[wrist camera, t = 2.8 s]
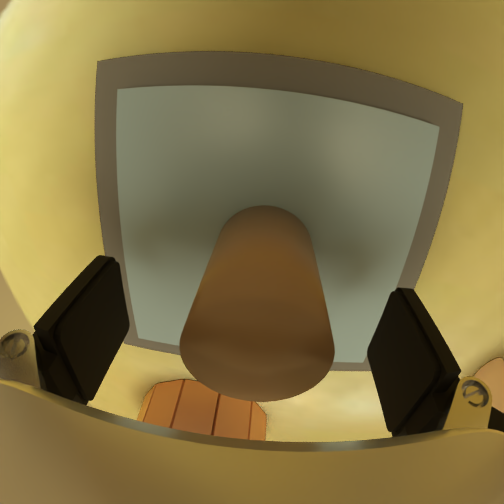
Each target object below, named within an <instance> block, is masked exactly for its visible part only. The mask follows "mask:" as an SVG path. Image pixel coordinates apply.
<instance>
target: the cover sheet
mask: <svg viewBox="0 0 504 504" xmlns="http://www.w3.org/2000/svg"><path fill="white" fill-rule="evenodd" d="M439 128H440V127H439V126H436V125H433V124H430V123H427V122H424V121H421V120H417V119H414V118H411V117H408V116H404V115H401V114H397V113H394V112H390V111H386V110H383V109H379V108H375V107H371V106H366V105H362V104H358V103H353V102H348V101H343V100H338V99H333V98H328V97H322V96H316V95H310V94H303V93H296V92H288V91H280V90H271V89H260V88H248V87H232V86H200V85H184V86H153V87H137V88H126V89H117V113H116V158H117V183H118V199H119V212H120V224H121V233H122V242H123V251H124V259H125V266H126V273H127V279H128V286H129V292H130V298H131V303H132V309H133V314H134V319H135V324H136V329H137V334H138V338H141V339H146V340H151V341H156V342H161V343H167V344H172V345H178V346H179V349H180V354H181V358H182V360H183V363H184V364H185V366H186V368H187V369H188V371H189V372H190V373H191V374H192V375H193V376H194V377H195V378H196V379H197V380H198V381H199V382H201V383H202V384H203V385H205V386H206V387H208V388H209V389H211V390H213V391H215V392H217V393H220V394H222V395H225V396H228V397H231V398H235V399H239V400H245V401H256V402H268V401H277V400H283V399H287V398H291V397H294V396H297V395H299V394H301V393H304V392H306V391H308V390H309V389H311V388H312V387H314V386H315V385H317V384H318V383H319V382H320V381H321V380H322V379H323V378H324V377H325V376H326V375H327V373H328V372H329V370H330V368H331V366H332V364H333V362H359V363H363V362H364V360H365V358H366V356H367V349H368V346H369V344H370V342H371V339H372V337H373V335H374V332H375V330H376V328H377V325H378V323H379V321H380V318H381V316H382V313H383V311H384V308H385V306H386V303H387V301H388V298H389V295H390V293H391V292H392V291H395V289H396V287H397V284H398V281H399V279H400V276H401V273H402V270H403V268H404V265H405V262H406V259H407V256H408V253H409V250H410V247H411V244H412V241H413V238H414V234H415V231H416V228H417V224H418V221H419V218H420V214H421V210H422V207H423V203H424V199H425V195H426V191H427V187H428V183H429V179H430V175H431V170H432V165H433V161H434V156H435V151H436V145H437V140H438V134H439Z"/></svg>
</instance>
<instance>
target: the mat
mask: <svg viewBox="0 0 504 504" xmlns="http://www.w3.org/2000/svg"><path fill="white" fill-rule="evenodd" d="M184 85H200V86H232V87H248V88H260V89H271V90H280V91H288V92H296V93H303V94H310V95H316V96H322V97H328V98H333V99H338V100H343V101H348V102H353V103H358V104H362V105H366V106H371V107H375V108H379V109H383V110H386V111H390V112H394V113H397V114H401V115H404V116H408V117H411V118H414V119H417V120H421V121H424V122H427V123H430V124H433V125H436V126H439V127H440V128H439V134H438V140H437V145H436V151H435V156H434V161H433V165H432V170H431V175H430V179H429V183H428V187H427V191H426V195H425V199H424V203H423V207H422V210H421V214H420V218H419V221H418V224H417V228H416V231H415V234H414V238H413V241H412V244H411V247H410V250H409V253H408V256H407V259H406V262H405V265H404V268H403V270H402V273H401V276H400V279H399V281H398V284H397V287H396V288H398V287H400V288H411V289H413V290H414V288H415V286H416V283H417V281H418V278H419V276H420V273H421V271H422V268H423V265H424V263H425V260H426V257H427V254H428V251H429V249H430V246H431V243H432V240H433V237H434V234H435V231H436V227H437V224H438V221H439V218H440V214H441V211H442V207H443V204H444V200H445V196H446V192H447V188H448V184H449V180H450V176H451V172H452V167H453V163H454V158H455V153H456V148H457V142H458V136H459V130H460V124H461V117H462V109H463V104H462V103H460V102H458V101H455V100H453V99H451V98H448V97H446V96H443V95H441V94H438V93H436V92H433V91H430V90H428V89H425V88H422V87H419V86H416V85H413V84H410V83H407V82H404V81H401V80H398V79H395V78H391V77H388V76H384V75H381V74H377V73H373V72H370V71H366V70H362V69H357V68H353V67H349V66H344V65H339V64H334V63H329V62H324V61H318V60H312V59H305V58H298V57H291V56H283V55H273V54H262V53H248V52H225V51H193V52H170V53H156V54H145V55H136V56H128V57H121V58H114V59H108V60H102V61H98V62H97V75H96V91H95V161H96V179H97V192H98V203H99V213H100V222H101V230H102V237H103V244H104V251H105V256H109V257H114V258H115V260H116V262H119V264H120V269H121V276H122V283H123V289H124V295H125V300H126V306H127V311H128V316H129V321H130V327H129V331H128V333H127V335H126V337H125V338H124V340H123V341H124V344H128V345H132V346H137V347H141V348H146V349H151V350H156V351H161V352H166V353H172V354H177V355H181V354H180V349H179V346H178V345H172V344H167V343H161V342H156V341H151V340H146V339H141V338H138V334H137V329H136V324H135V319H134V314H133V309H132V303H131V298H130V292H129V286H128V279H127V273H126V266H125V259H124V251H123V242H122V233H121V224H120V212H119V199H118V183H117V158H116V113H117V89H126V88H137V87H153V86H184ZM395 290H396V289H395ZM329 371H371V368H370V364H369V361H368V358H367V356H366V358H365V360H364V362H363V363H359V362H333V364H332V366H331V368H330V370H329Z"/></svg>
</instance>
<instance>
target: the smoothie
mask: <svg viewBox="0 0 504 504" xmlns="http://www.w3.org/2000/svg"><path fill="white" fill-rule="evenodd" d="M474 377H476V378H478V379H480V380H482V381H483V382H484V383H485V384H486V385H487V386H488V388H489V389H490V391H491V394H492V407H494V408H496V409H497V410H499V411H501V412H503V413H504V360H503V359H502V358H496V359H494V360H491V361H490V362H488V363H487V364H485V365H484V366H483V367H482V368H480V369H479V370H478V371H477V373H476V374H475V375H474Z"/></svg>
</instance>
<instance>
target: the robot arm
mask: <svg viewBox="0 0 504 504" xmlns="http://www.w3.org/2000/svg"><path fill="white" fill-rule="evenodd" d="M129 327H130V321H129V316H128V311H127V306H126V300H125V295H124V289H123V283H122V276H121V269H120V264H119V262H116V260H115V258H114V257H109V256H102V255H98V256H97V257H96V258H95V259H94V260H93V261H92V262H91V263H90V264H89V265H88V266H87V267H86V268H85V269H84V270H83V271H82V272H81V273H80V274H79V275H78V277H77V278H76V279H75V280H74V281H73V282H72V283H71V284H70V285H69V286H68V287H67V288H66V289H65V291H64V292H63V293H62V294H61V295H60V296H59V297H58V298H57V300H56V301H55V302H54V303H53V304H52V305H51V306H50V307H49V309H48V310H47V311H46V312H45V313H44V314H43V316H42V317H41V318H40V319H39V320H38V322H37V323H36V324H35V325H34V329H35V332H34V334H33V335H32V334H31V333H30V332H29V331H26V330H21V329H18V330H13V331H10V332H8V333H7V334H5V335H4V336H3V337H2V338H1V339H0V504H504V413H503V412H501V411H499V410H497V409H496V408H494V407H492V394H491V391H490V389H489V388H488V386H487V385H486V384H485V383H484V382H483V381H482V380H480V379H478V378H476V377H472V376H467V377H464V378H462V379H461V380H460V379H459V377H458V375H459V374H460V372H461V369H460V367H459V366H458V364H457V362H456V360H455V358H454V356H453V354H452V353H451V351H450V349H449V347H448V345H447V344H446V342H445V340H444V338H443V337H442V335H441V333H440V331H439V330H438V328H437V326H436V325H435V323H434V321H433V320H432V318H431V316H430V315H429V313H428V311H427V310H426V308H425V307H424V305H423V303H422V302H421V300H420V299H419V297H418V296H417V294H416V293H415V291H414V290H413V289H411V288H400V287H398V288H396V290H395V291H392V292H391V293H390V295H389V298H388V301H387V303H386V306H385V308H384V311H383V313H382V316H381V318H380V321H379V323H378V325H377V328H376V330H375V332H374V335H373V337H372V339H371V342H370V344H369V346H368V349H367V358H368V361H369V364H370V368H371V371H372V374H373V378H374V381H375V385H376V388H377V392H378V396H379V399H380V403H381V407H382V411H383V414H384V418H385V422H386V426H387V429H388V431H389V432H392V436H393V437H390V438H381V439H372V440H360V441H344V442H276V441H260V440H248V439H237V438H228V437H220V436H213V435H206V434H199V433H193V432H188V431H182V430H177V429H172V428H167V427H162V426H158V425H153V424H149V423H145V422H141V421H137V420H133V419H129V418H125V417H122V416H118V415H115V414H112V413H108V412H105V411H102V410H99V409H96V408H92V407H89V406H86V405H87V403H88V401H91V400H93V399H94V397H95V395H96V393H97V391H98V389H99V387H100V385H101V383H102V381H103V379H104V377H105V375H106V373H107V371H108V369H109V367H110V365H111V363H112V361H113V359H114V357H115V355H116V353H117V352H118V350H119V348H120V346H121V344H122V342H123V340H124V338H125V337H126V335H127V333H128V331H129Z"/></svg>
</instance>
